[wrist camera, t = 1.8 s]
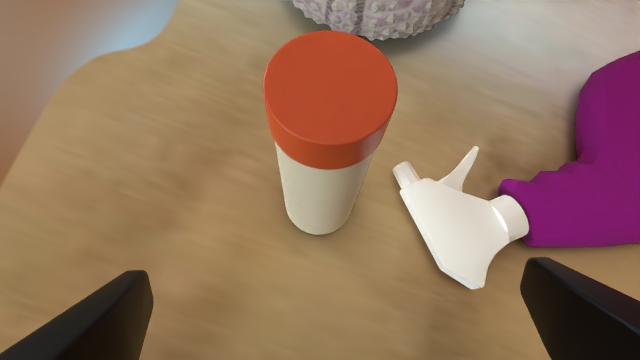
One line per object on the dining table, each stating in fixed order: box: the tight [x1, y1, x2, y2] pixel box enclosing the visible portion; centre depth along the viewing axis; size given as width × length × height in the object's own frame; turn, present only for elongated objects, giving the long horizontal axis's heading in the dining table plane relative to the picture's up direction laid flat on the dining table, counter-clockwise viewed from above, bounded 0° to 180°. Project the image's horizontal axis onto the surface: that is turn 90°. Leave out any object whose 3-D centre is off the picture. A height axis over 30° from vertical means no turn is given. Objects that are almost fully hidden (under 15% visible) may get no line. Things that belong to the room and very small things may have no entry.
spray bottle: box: [392, 51, 640, 290], centre depth 22 cm, size 3×11×25 cm
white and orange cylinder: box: [263, 31, 398, 235], centre depth 17 cm, size 4×4×12 cm
